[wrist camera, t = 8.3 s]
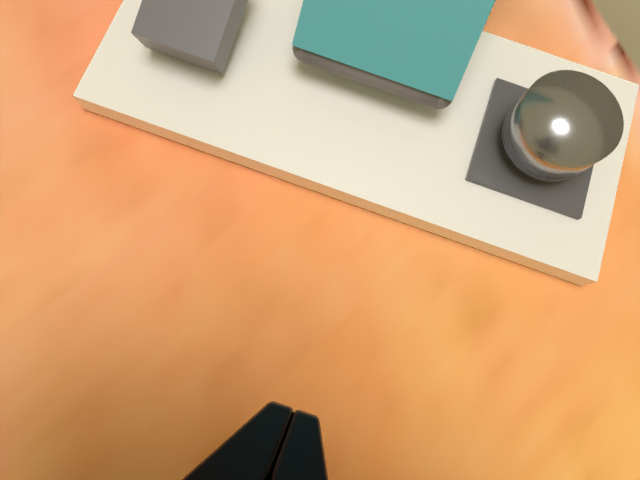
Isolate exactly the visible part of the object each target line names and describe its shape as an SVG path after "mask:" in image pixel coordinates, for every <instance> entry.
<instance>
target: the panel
mask: <svg viewBox="0 0 640 480" xmlns="http://www.w3.org/2000/svg"><path fill="white" fill-rule="evenodd" d="M141 2H142V0H124V1H123V2H122V4H121V6H120V8H119V10H118V12H117V14H116V16H115V17H114V19H113V21H112V23H111V25H110V27H109V29H108V30H107V32H106V34H105V36H104V38H103V40H102V42H101V44H100V45H99V47H98V49H97V51H96V53H95V55H94V57H93V59H92V60H91V62H90V64H89V66H88V68H87V70H86V72H85V73H84V75H83V77H82V79H81V81H80V83H79V85H78V87H77V88H76V90H75V92H74V94H73V97H74V98H75V99H76V100H77V101H78V103H79V104H80V105H81V106H82V107H83V108H84V109H85V110H88V111H91V112H94V113H96V114H99V115H102V116H105V117H108V118H110V119H113V120H116V121H119V122H122V123H125V124H127V125H130V126H133V127H136V128H139V129H141V130H144V131H147V132H150V133H153V134H155V135H158V136H161V137H164V138H167V139H170V140H172V141H175V142H178V143H181V144H184V145H186V146H189V147H192V148H195V149H198V150H200V151H203V152H206V153H209V154H212V155H215V156H217V157H220V158H223V159H226V160H229V161H231V162H234V163H237V164H240V165H243V166H245V167H248V168H251V169H254V170H257V171H260V172H262V173H265V174H268V175H271V176H274V177H276V178H279V179H282V180H285V181H288V182H290V183H293V184H296V185H299V186H302V187H305V188H307V189H310V190H313V191H316V192H319V193H321V194H324V195H327V196H330V197H333V198H335V199H338V200H341V201H344V202H347V203H349V204H352V205H355V206H358V207H361V208H364V209H366V210H369V211H372V212H375V213H378V214H380V215H383V216H386V217H389V218H392V219H394V220H397V221H400V222H403V223H406V224H409V225H411V226H414V227H417V228H420V229H423V230H425V231H428V232H431V233H434V234H437V235H439V236H442V237H445V238H448V239H451V240H454V241H456V242H459V243H462V244H465V245H468V246H470V247H473V248H476V249H479V250H482V251H484V252H487V253H490V254H493V255H496V256H499V257H501V258H504V259H507V260H510V261H513V262H515V263H518V264H521V265H524V266H527V267H529V268H532V269H535V270H538V271H541V272H544V273H546V274H549V275H552V276H555V277H558V278H560V279H563V280H566V281H569V282H572V283H574V284H577V285H580V286H582V285H586V284H591V283H595V282H597V281H598V276H599V271H600V267H601V262H602V257H603V253H604V248H605V243H606V238H607V234H608V229H609V224H610V220H611V215H612V210H613V206H614V201H615V196H616V192H617V187H618V182H619V177H620V173H621V168H622V163H623V159H624V154H625V149H626V145H627V140H628V135H629V130H630V126H631V121H632V116H633V112H634V107H635V102H636V98H637V93H638V88H639V84H636V83H633V82H630V81H627V80H624V79H621V78H618V77H615V76H612V75H610V74H607V73H604V72H601V71H598V70H595V69H592V68H589V67H586V66H583V65H581V64H578V63H575V62H572V61H569V60H566V59H563V58H560V57H557V56H555V55H552V54H549V53H546V52H543V51H540V50H537V49H534V48H531V47H528V46H526V45H523V44H520V43H517V42H514V41H511V40H508V39H505V38H502V37H499V36H497V35H494V34H491V33H488V32H485V31H482V33H481V35H480V38H479V40H478V42H477V45H476V47H475V49H474V52H473V54H472V56H471V59H470V61H469V63H468V66H467V68H466V70H465V73H464V75H463V78H462V80H461V82H460V85H459V87H458V89H457V92H456V94H455V96H454V99H453V101H452V103H451V104H450V105H449V106H448V107H446V108H444V109H434V108H431V107H428V106H426V105H423V104H420V103H417V102H414V101H411V100H408V99H406V98H403V97H400V96H397V95H394V94H391V93H388V92H386V91H383V90H380V89H377V88H374V87H371V86H368V85H366V84H363V83H360V82H357V81H354V80H351V79H348V78H345V77H343V76H340V75H337V74H334V73H331V72H328V71H325V70H323V69H320V68H317V67H314V66H311V65H308V64H305V63H303V62H300V61H299V60H297V58H296V57H295V56H294V53H293V49H292V48H293V45H292V42H293V38H294V34H295V30H296V27H297V23H298V19H299V15H300V11H301V7H302V4H303V0H248V3H247V6H246V9H245V12H244V15H243V17H242V20H241V23H240V26H239V29H238V32H237V35H236V38H235V40H234V43H233V46H232V49H231V52H230V55H229V58H228V60H227V63H226V66H225V69H224V72H223V75H222V74H219V73H217V72H214V71H211V70H208V69H205V68H202V67H200V66H197V65H194V64H191V63H188V62H185V61H182V60H180V59H177V58H174V57H171V56H168V55H165V54H163V53H160V52H157V51H154V50H151V49H148V48H146V47H145V46H144V45H143V44H142V43H141V42H140V41H139V40H138V39H137V38H136V37H135V36H134V35H133V34H132V33H131V31H132V28H133V25H134V22H135V19H136V16H137V13H138V10H139V8H140V5H141ZM558 70H574V71H579V72H583V73H586V74H588V75H590V76H592V77H594V78H596V79H598V80H599V81H600V82H602V83H603V84H604V85H605V86H606V87H607V88H608V89H609V90H610V91H611V92H612V93H613V95H614V96H615V97H616V99H617V101H618V103H619V105H620V107H621V110H622V114H623V120H624V128H623V134H622V137H621V140H620V142H619V144H618V146H617V147H616V149H615V150H614V151H613V152H612V153H611V154H609V155H608V156H607V157H605V158H604V159H602V160H601V161H599V162H597V163H596V164H594V165H592V166H591V167H589V168H588V169H586V170H584V171H583V172H581V173H580V174H578V175H576V176H575V177H573V178H571V179H568V180H565V181H561V182H546V181H541V180H538V179H535V178H533V177H530V176H529V175H527V174H525V173H524V172H522V171H521V170H520V169H519V168H517V167H516V166H515V164H514V163H513V162H512V161H511V160H510V158H509V157H508V155H507V153H506V151H505V148H504V145H503V141H502V125H503V121H504V119H505V116H506V115H507V113H508V111H509V110H510V109H511V108H512V107H513V105H514V104H515V103H516V102H517V101H518V100H519V99H520V98H521V97H522V95H523V94H524V93H525V92H526V91H527V90H528V89H529V88H530V87H531V85H532V84H533V83H534V82H535V81H536V80H537V79H539V78H540V77H542V76H544V75H545V74H547V73H550V72H553V71H558Z"/></svg>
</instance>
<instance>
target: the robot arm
mask: <svg viewBox="0 0 640 480" xmlns="http://www.w3.org/2000/svg"><path fill="white" fill-rule="evenodd" d="M182 480H328V475H327V469H326V462H325V455H324V448H323V442H322V435H321V428H320V422H319V419H318V417H317V416H315V415H313V414H310V413H307V412H304V411H301V410H296V411H295V412H294V413H293V409H292V408H291V407H289V406H286V405H283V404H280V403H277V402H270V403H268V404H267V405H266V406H264V407H263V408H262V409H261V410H260V411H259V412H258V413H257V414H255V415H254V416H253V417H252V418H251V419H250V420H249V421H247V422H246V423H245V424H244V425H243V426H242V427H241V428H240V429H238V430H237V431H236V432H235V433H234V434H233V435H232V436H231V437H229V438H228V439H227V440H226V441H225V442H224V443H223V444H222V445H220V446H219V447H218V448H217V449H216V450H215V451H214V452H213V453H211V454H210V455H209V456H208V457H207V458H206V459H205V460H204V461H202V462H201V463H200V464H199V465H198V466H197V467H196V468H194V469H193V470H192V471H191V472H190V473H189V474H188V475H187V476H185V477H184V478H183V479H182Z"/></svg>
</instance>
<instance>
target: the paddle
mask: <svg viewBox="0 0 640 480" xmlns="http://www.w3.org/2000/svg"><path fill="white" fill-rule="evenodd" d="M494 2H495V0H303V4H302V7H301V11H300V15H299V19H298V23H297V27H296V30H295V34H294V38H293V42H292V45H293V48H292V49H293V53H294V56H295V57H296V58H297V60H299V61H300V62H303V63H305V64H308V65H311V66H314V67H317V68H320V69H323V70H325V71H328V72H331V73H334V74H337V75H340V76H343V77H345V78H348V79H351V80H354V81H357V82H360V83H363V84H366V85H368V86H371V87H374V88H377V89H380V90H383V91H386V92H388V93H391V94H394V95H397V96H400V97H403V98H406V99H408V100H411V101H414V102H417V103H420V104H423V105H426V106H428V107H431V108H434V109H444V108H446V107H448V106H449V105H450V104H451V103H452V101H453V99H454V96H455V94H456V92H457V89H458V87H459V85H460V82H461V80H462V78H463V75H464V73H465V70H466V68H467V66H468V63H469V61H470V59H471V56H472V54H473V52H474V49H475V47H476V45H477V42H478V40H479V38H480V35H481V33H482V30H483V28H484V26H485V23H486V21H487V19H488V16H489V14H490V12H491V9H492V7H493V5H494Z"/></svg>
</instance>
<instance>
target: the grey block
mask: <svg viewBox="0 0 640 480" xmlns="http://www.w3.org/2000/svg"><path fill="white" fill-rule="evenodd" d="M247 3H248V0H142V2H141V5H140V8H139V10H138V13H137V16H136V19H135V22H134V25H133V28H132V31H131V33H132V34H133V35H134V36H135V37H136V38H137V39H138V40H139V41H140V42H141V43H142V44H143V45H144V46H145V47H146V48H148V49H151V50H154V51H157V52H160V53H163V54H165V55H168V56H171V57H174V58H177V59H180V60H182V61H185V62H188V63H191V64H194V65H197V66H200V67H202V68H205V69H208V70H211V71H214V72H217V73H219V74H222V75H223V72H224V69H225V66H226V63H227V60H228V58H229V55H230V52H231V49H232V46H233V43H234V40H235V38H236V35H237V32H238V29H239V26H240V23H241V20H242V17H243V15H244V12H245V9H246V6H247Z"/></svg>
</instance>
